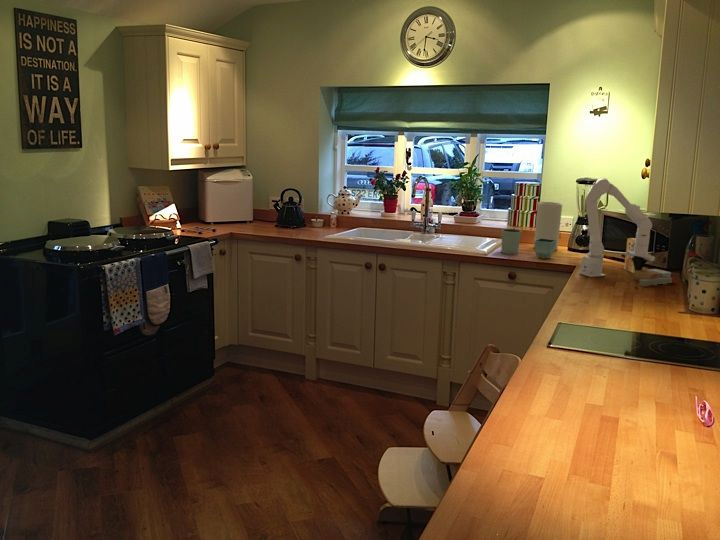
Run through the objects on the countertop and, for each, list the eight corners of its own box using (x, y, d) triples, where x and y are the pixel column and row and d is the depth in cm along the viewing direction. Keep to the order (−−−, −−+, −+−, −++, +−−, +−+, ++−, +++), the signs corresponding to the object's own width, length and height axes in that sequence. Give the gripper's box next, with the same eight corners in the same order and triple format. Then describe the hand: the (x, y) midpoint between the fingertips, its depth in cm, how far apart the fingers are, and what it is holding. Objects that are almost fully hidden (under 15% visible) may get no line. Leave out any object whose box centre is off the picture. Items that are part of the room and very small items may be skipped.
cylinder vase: (532, 246, 387) (536, 201, 381) (555, 247, 386) (560, 202, 380) (535, 250, 375) (540, 204, 369) (559, 252, 373) (564, 205, 368)
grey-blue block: (661, 283, 312) (663, 273, 311) (646, 279, 319) (647, 269, 318) (669, 282, 315) (671, 272, 314) (654, 278, 322) (655, 268, 321)
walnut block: (647, 284, 308) (649, 274, 307) (633, 280, 315) (634, 270, 314) (657, 283, 311) (658, 273, 310) (643, 279, 318) (644, 269, 317)
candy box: (640, 273, 329) (645, 241, 326) (632, 273, 329) (636, 241, 325) (631, 269, 338) (635, 238, 335) (623, 269, 337) (627, 237, 334)
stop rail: (643, 286, 303) (644, 280, 303) (638, 285, 305) (639, 279, 305) (671, 283, 311) (672, 278, 311) (667, 282, 313) (668, 276, 313)
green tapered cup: (522, 252, 367) (524, 230, 364) (515, 255, 358) (517, 232, 356) (503, 250, 372) (505, 227, 369) (496, 252, 364) (498, 230, 361)
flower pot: (532, 257, 355) (534, 240, 353) (538, 255, 363) (539, 238, 361) (549, 260, 351) (551, 242, 349) (554, 257, 358) (556, 240, 356)
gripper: (661, 246, 309) (656, 276, 312) (635, 240, 322) (631, 269, 325) (650, 247, 306) (645, 277, 309) (624, 241, 319) (620, 270, 322)
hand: (637, 273), depth 317 cm, fingers closed
